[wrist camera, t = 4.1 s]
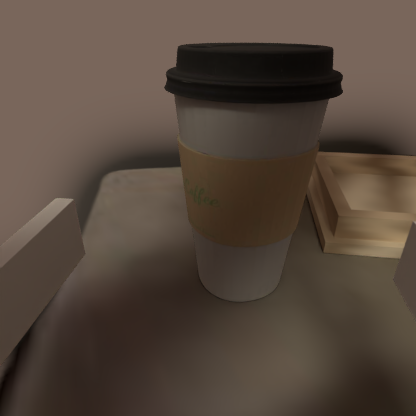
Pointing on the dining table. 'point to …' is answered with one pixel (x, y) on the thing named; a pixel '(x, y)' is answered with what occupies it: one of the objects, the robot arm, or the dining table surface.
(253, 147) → the coffee cup
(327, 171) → the wooden tray
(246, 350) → the dining table surface
